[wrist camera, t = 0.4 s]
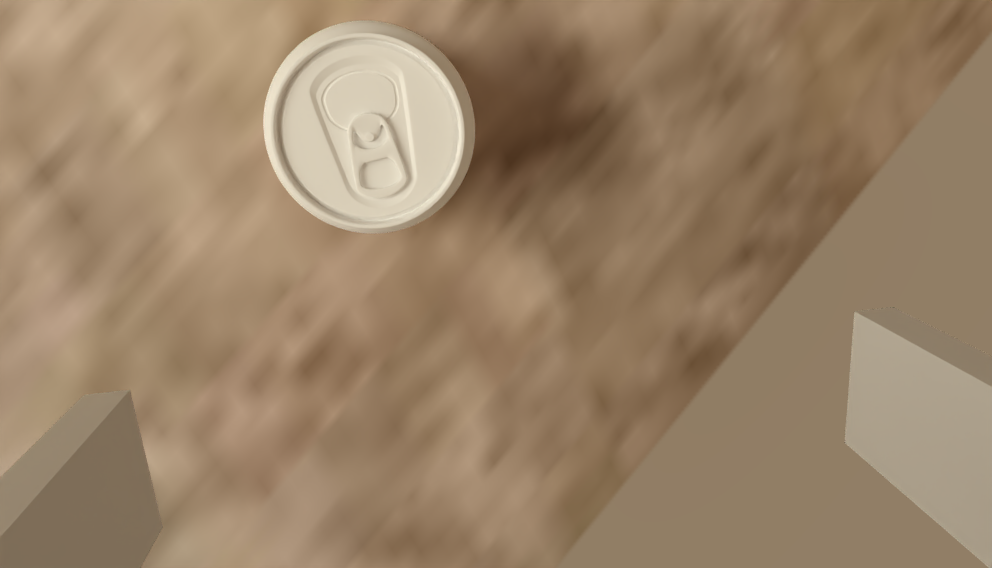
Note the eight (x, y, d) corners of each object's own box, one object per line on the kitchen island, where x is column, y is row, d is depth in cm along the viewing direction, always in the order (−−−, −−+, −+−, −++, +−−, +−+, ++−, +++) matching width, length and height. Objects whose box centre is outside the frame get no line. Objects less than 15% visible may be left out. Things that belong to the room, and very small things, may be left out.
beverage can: (440, 18, 37) (451, -5, 26) (474, 173, 40) (498, 215, 28) (283, 53, 37) (225, 45, 26) (327, 207, 39) (292, 263, 28)
